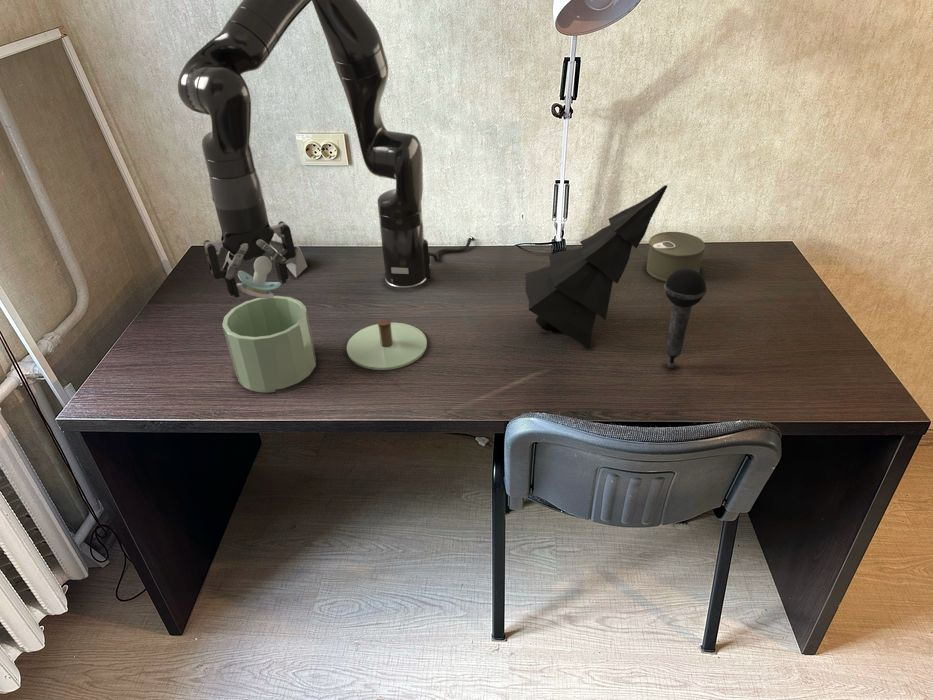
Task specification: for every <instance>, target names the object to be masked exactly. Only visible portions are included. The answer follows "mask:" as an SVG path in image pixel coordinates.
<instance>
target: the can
mask: <svg viewBox="0 0 933 700" xmlns="http://www.w3.org/2000/svg"><path fill="white" fill-rule="evenodd" d="M648 245H649V246H648V254H647V260H646V272H647V273H648V274H649V276H651V277H652V278H654V279H656V280H658V281H662V282H666V281H667V279H668V277H669V276H670V275H671V274H672V273H673V272H675V271H676V270H679V269H682V268H689V269H693V270H696V271H697V272H699V273H700V270H701V267H702V261H703V256H704V252H705V250H706V243H705V242H704V241H703V239H701V238H700V237H698V236H697V235H693V234H691V233H687V232H683V231H662V232H659V233H656V234H654V235H652V236H651V237H650V238H649V240H648Z"/></svg>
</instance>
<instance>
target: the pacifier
mask: <svg viewBox="0 0 933 700" xmlns="http://www.w3.org/2000/svg"><path fill="white" fill-rule="evenodd" d="M253 269H254V272H253V276H252V275H251V274H249V273H248V272H246V271H244V270H238V272H237V277H238V279H239V280H240V281H241V282H238V283H236V284H237V288H238V291H240V292H241V293H244V294H246V295H249V296H252V297H255V298H268V299H269V298H273V297H274V296H275V294H274V293H273V292H272V291H274V290H276V289H278V288H280V287H281V285H282V283H281V282H280V281H267V279H268V274H270V273H271V271H272V269H273V263H272V260H271V258H269V257H268V256H265V255H263V256H261V257H256V259H255V261H254V263H253Z"/></svg>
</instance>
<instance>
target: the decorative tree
mask: <svg viewBox="0 0 933 700" xmlns="http://www.w3.org/2000/svg"><path fill="white" fill-rule="evenodd" d="M667 188H668V185H667V184H665V185H663V186H662V187H660V188H659V189H658V190H656V191H655V192H654V193H653V194H651V195H650V196H648V197H647V198H644V199H643V200H641V201H639V202H638V203H636V204H634V205H632V206H629V207H628V208H625V209H623V210H621V211H619V212H618V213H616V214H614V215H613V216H611V217H610V218H608V222H609V225H607V226H605V227H603V228H601V229H599V230H598V231H597V232H595V233H594V234H592V235H591V236H588V237H587V238H584V239H582V240H580V241H579V243H580V245H581V247H578V248H573V249H567V250H560V251H557V252H555V253H552V254H550V255H548V258H549V265H550V266H544V267H541V268H539V269H536V270H532V271H528V272H525V294H526V297H527V300H528V311H530V312H531V313H532V314H534V315H536V316H537V317H536V318H535V322H536V324H537V325H538V327H540V328H541V329H542V330H544V331H547V332H549V331H551V330H552V329H553V328H555V329H557V330H558V331H560V332H562V333H563V334H564V335H566V336H568V337H569V338H570V339H573V340H574V341H576V342H577V343H578V344H580V345H582V346H584V347H586V348H588V349H590V344H591V337H592V333H593V328H594V324H595V322H596V317H597V316H599V317H600V318H601V319H603V320H604V321H606V320H607V314H608V310H609V303H610V299H611V294H612V290H613V289H612V288H613V283H615V284H618V283H619V282H620V280H621V278H622V276H623V274H624V272H625V271H626V268H627V265H628V262H629V260H630V257H631V253H632V248H635V249H637V248H638V247H639V245H640V243H641V242H642V240H643V238H644V236H645V235H646V233H647V230H648V227H649V225H650V223H651V220H652V217H654V214H655V212H656V210H657V208H658V206H659V204H660V202H661V200H662V198H663V196H664V194H665V193H666V191H667Z"/></svg>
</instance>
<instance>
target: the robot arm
mask: <svg viewBox="0 0 933 700" xmlns="http://www.w3.org/2000/svg"><path fill="white" fill-rule="evenodd" d="M310 3H312V5H313V8H314V9H315V14H316V16H317V18H318V22H319V25H320V27H321V30H322V32H323V34H324V37H325V40H326V42H327V46H328V48H329V52H330V55H331V58H332V61H333V64H334V67H335V70H336V72H337V73H336V74H337V76H338V78H339V81H340V83H341V86H342V88H343V92H344V94H345V97H346V100H347V103H348V107H349V109H350V113H351V115H352V119H353V123H354V126H355V127H354V128H355V130H356V134H357V139H358V143H359V144H358V145H359V148H360V153H361V155H362V159H363V162H364V164H365V167H366V168H367V170H368V172H369V173H371V174H372V175H373V176H375V177H379V178H385V179H389V180H390V179H391V180H395V188H393V189H389V190H387V191H384V192H382V193H381V194H379V196H378V197H377V211H378V219H379V220H378V221H379V229H380V239H381V249H382V257H383V258H382V259H383V266H384V281H385V284H387V285H388V286H389V287H391V288H394V289H399V290H409V289H413V288H417V287H420V286H422V285H424V284H425V283H426V282H427V280H430V279H431V270H430V264H431V257H433V259H434V261H435V262H439V260H440V255H441V254H443V253H448V252H449V253H460V252H465V251H467V249H468V248H469V247H470V245H471V242H472V241H475V238H474V237H473V236H471V237H472V239H471V238H469V237H468V239H467V242H466V244H465V245H464V246H462V247H459V248H450V247H449V248H447V247H446V248H441V249H439V250H437V251H436V253H434V252H430V251H429V242H428V241H427V239H425V233H424V222H423V221H424V219H423V205H422V202H423V201H422V200H423V194H424V177H423V176H424V175H423V174H424V171H423V169H424V165H423V164H424V161H423V160H424V158H423V157H424V156H423V149H422V145H421V142H420V140H419V138H418V137H417V136H416V135H415V134H411V133H406V132H399V131H391V130H387V129H386V127H385V124H384V122H383V118H382V114H381V110H380V109H381V101H382V98H383V95H384V93H385V89H386V87H387V83H388V80H389V73H390V72H389V71H390V70H389V69H390V68H389V64H388V59H387V56H386V53H385V48H384V46H383V41H382V39H381V36H380V33H379V30H378V29H377V27H376V25H375V24H374V22H373V20H372V19H371V18H370V16H369V15H368V14H367V12H366V11H365V9H364V8H363V7H362V6H361V4H360V3H359V2H358V1H357V0H241V2H240V3H239V5H238V6H237V7H236V8H235V10H234V12H233V13H232V15H231V16H230V17H229V19H228V20H227V22H226V23H225V25H224V26H223V27H222V29H221V31H220V32H219V33H218V34H217V35H215V36H214V37H213V38H211V39H210V40H209V41H207V42H206V44H204V45H203V46H202V47H201V48H200V49H199V50H197V52H196V53H194V54H193V55H192V57H190V58H189V59H188V61H186V63H185V64H184V66H183V67H182V69H181V71H180V74H179V75H178V80H177V93H178V96H179V99H180V100H181V102H182V103H183V104H184V106H186V108H188V109H190V110H191V111H193V112H196V113H199V114H202V115H206V116H209V117H210V120H211V131H209V132H207V133H206V134H205V135H204V136H202V137H203V138H202V140H201V147H202V148H201V149H202V154H203V157H204V160H205V165H206V170H207V172H208V177H209V186H210V191H211V199H212V201H213V204H214V207H215V211H216V216H217V219H218V222H219V223H218V224H219V226H220V230H221V237H220V239H218V240H213V241H211V240H209V239H206V240H204V241H203V244H202V245H203V248H204V253H205V256H206V261H207V264H208V269H209V272H210V274H211V275H212V276H213V278H214V279H215V280H219V279H223V280H224V283H225V284H224V285H225V287H226V291H227V292H228V293H229V295H230V296H233V297H234V298H235V299H237V298H240V293H239V289H238V288H237V284H238V283H237V280H236V278H235V277H234V276H235V274H236V271H237V269H239V268H240V266H241V263H242V262H243V261H245V262H246V261H249V260H251V259H253V258H258V257H261V256H264V254H268V255H269V256H270V258H271V257H273V258H274V259H275V260H274V265H275V270H276V275H277V278H278V282H279V283H281V285H283V284H287V280H289V271H288V268H287V266H286V262H287V260H288V259H290V258H294V257H295V256H296V253H295V249H294V245H295V244H294V240H293V236H292V231H291V227H290V226H289V225H288V224H287V223H286V222H285V221H283V220H280V221H278V224H276V225H273V226H271V224H270V222H269V217H268V213H267V207H266V203H265V198H264V193H263V189H262V184H261V181H260V177H259V174H258V172H257V171H258V170H257V168H256V163H255V159H254V153H253V151H252V146H251V132H252V97H251V92H250V89H249V86H248V84H247V82H246V80H245V78H244V77H243V76H242V75H243V74H244V73H247V72H254V71H256V70H259V69H260V68H261V67H263V65H264V64H265V63H266V61H267V60H268V58H269V57H270V56H271V55H272V52H273V51H274V50H275V48H276V47H277V46H278V44H279V42H280V41H281V39H282V38H283V37H284V36H285V33H286V32H287V30H288V29H289V28H290V27H291V25H292V24H293V22H294V21H296V19H297V18H298V16H299V15H300V14H301V13H302V11H303V10H305V8H307V6H308V5H309V4H310ZM275 234H276V235H277V237H278V238H280V239H281V242H282V244H283V248H284V250H283V251H282V252H278V251H277V250H276V249H275V248H274V247H272V246H271V245H270V242H271V240H273V238H274V236H275ZM222 248H224V249H225V250H227V254H226V256H225V261H224V263H223V266H222V267H220V262H219V258H218V256H219V255H220V254H221V249H222Z"/></svg>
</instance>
